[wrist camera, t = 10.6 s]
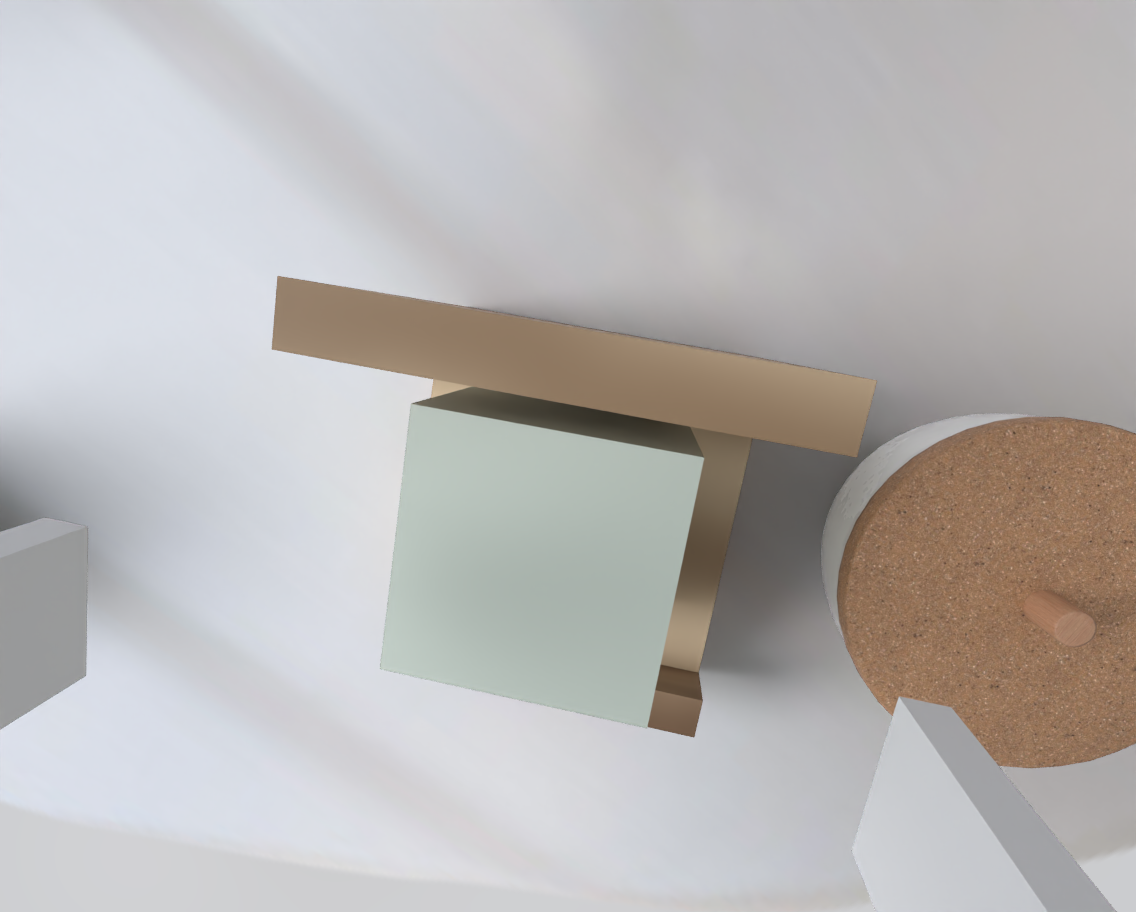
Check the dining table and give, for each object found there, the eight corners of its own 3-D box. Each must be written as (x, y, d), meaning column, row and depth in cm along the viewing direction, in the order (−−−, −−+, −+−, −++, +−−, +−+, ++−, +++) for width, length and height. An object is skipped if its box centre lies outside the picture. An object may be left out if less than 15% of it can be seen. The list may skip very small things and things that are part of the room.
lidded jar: (738, 561, 28) (783, 673, 18) (898, 342, 25) (1040, 346, 16) (954, 697, 28) (1106, 878, 18) (1134, 490, 25) (1411, 578, 16)
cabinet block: (496, 379, 24) (410, 403, 16) (683, 412, 24) (704, 457, 15) (467, 583, 26) (374, 710, 17) (641, 619, 25) (638, 769, 17)
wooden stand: (465, 306, 27) (277, 276, 13) (757, 357, 26) (877, 380, 12) (424, 612, 30) (232, 847, 16) (686, 669, 29) (720, 972, 15)
